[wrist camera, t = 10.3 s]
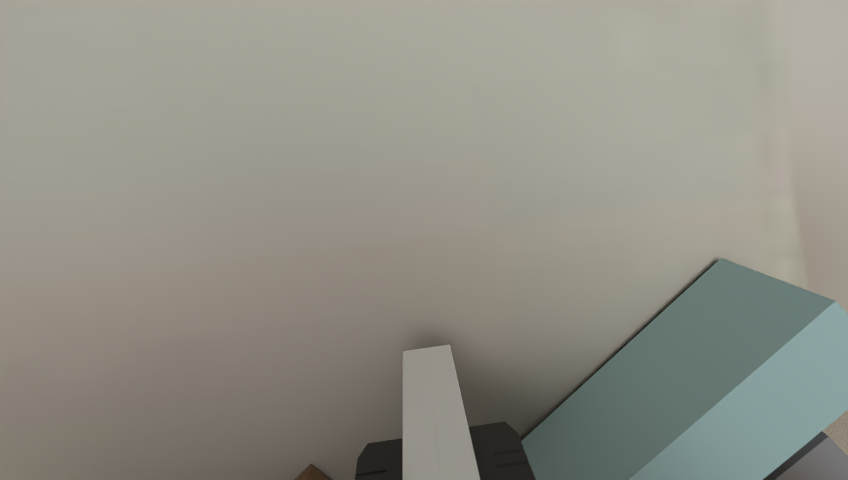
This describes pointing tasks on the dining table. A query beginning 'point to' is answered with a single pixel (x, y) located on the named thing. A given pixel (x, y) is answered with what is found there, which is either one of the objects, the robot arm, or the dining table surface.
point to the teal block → (706, 388)
